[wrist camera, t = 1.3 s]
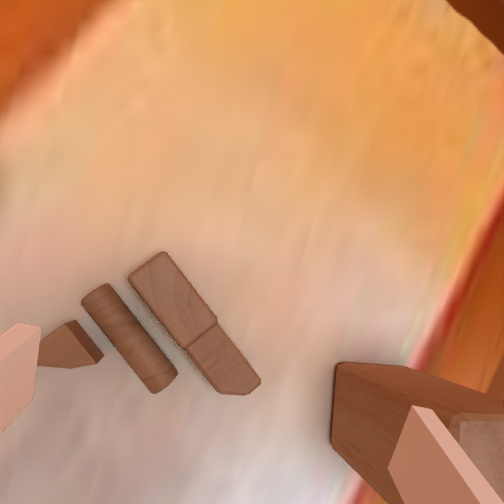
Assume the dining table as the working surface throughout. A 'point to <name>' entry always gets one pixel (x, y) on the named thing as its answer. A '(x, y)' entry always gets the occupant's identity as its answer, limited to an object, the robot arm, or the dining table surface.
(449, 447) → the robot arm
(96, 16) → the dining table surface
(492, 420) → the block
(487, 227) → the dining table surface
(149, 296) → the wooden block set
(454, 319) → the dining table surface
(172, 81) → the dining table surface
